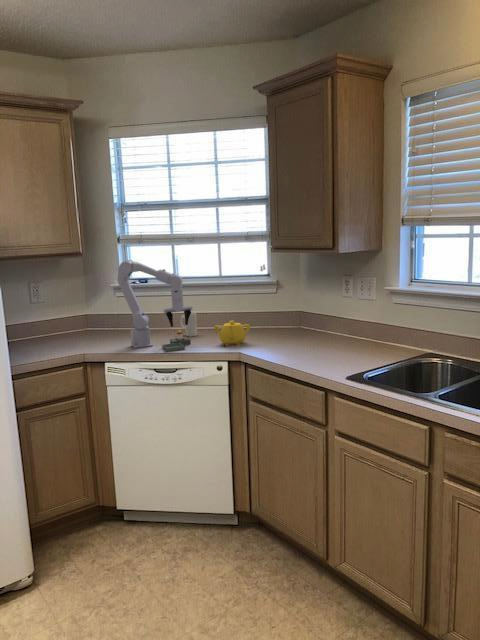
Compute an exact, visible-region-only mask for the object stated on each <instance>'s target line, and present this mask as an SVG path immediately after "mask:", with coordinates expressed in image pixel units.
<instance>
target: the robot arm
mask: <svg viewBox="0 0 480 640" xmlns="http://www.w3.org/2000/svg"><path fill="white" fill-rule="evenodd" d="M136 272H142V273H144V274H147V275H149V276H152V277H155V279H156V281H159V282H160V283H164V284H166V285H169V286H170V289H171V291H170V294H171V295H170V296H171V306H172V307H168V308H164V309H163V313H164V314H165V315H166V317H167V319H168V321H169V325H170V327H171V328H172V327H173V328H174V322H173V320H174V319H173V316H174V314H173V313H178V312H183V316H184V315H185V321H184V326H185V325H188V320H189V316H190V314H191V313H192V311H193V306H191V305H189V306H188V305H187V306H184V293H183V286H182V285H183V278H182V277H181V276H180V275H179V274H175V273H174V272H172V273H171V272H169V271H167V269H165V268H164V269H163V268H162V269H158V270H157V269H155V268H152V267H150V266H148V265H146V264H143V263H140V262H138V261H134V260H132V259H129V260H128V259H127V260H124V261H122V262H121V263H120V264H119V266H118V268H117V278H116V279H117V280H116V281H117V283H118V285H119V287H120V288H119V289H120V290H121V292H122V294H123V296H124V299H125V301H126V302H127V305H128V307H129V309H130V311H131V314H132V319H133V320H132V321H133V326H134V327H135V328H134V329H131V330H130V339H131V340H130V341H131V342H130V343H131V346H132V348H133V349H138V348H145V347H153V346H154V345H153V344H152V343H151V334H150V327H149V323H150V317H149V316H148V315H147V314H146V313H145V311H144V310H143V308H141V305H140V303H139V301H138V299H137V297H136V295H135V293H134V290H133V288H132V286H131V284H130V281H129V279H130V277H131V276H132V274H133V273H136Z"/></svg>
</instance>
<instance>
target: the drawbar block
mask: <svg viewBox="0 0 480 640" xmlns="http://www.w3.org/2000/svg"><path fill="white" fill-rule="evenodd" d="M191 342H192V340H191V338H189V337H188V336H185V337H184V336H183V340H178V341H177V337H176V338H169V344H172V343H181V344H182V345H184V346H189V345H192V344H191Z"/></svg>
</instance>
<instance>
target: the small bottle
mask: <svg viewBox="0 0 480 640" xmlns="http://www.w3.org/2000/svg"><path fill="white" fill-rule="evenodd" d="M183 332H184V331H183V329H182V330H180V329H179V330H176V338H177V341H178V340H183V337H184V335H183V334H184V333H183Z"/></svg>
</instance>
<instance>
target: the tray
mask: <svg viewBox="0 0 480 640" xmlns="http://www.w3.org/2000/svg"><path fill="white" fill-rule="evenodd" d="M185 346H186V345H182V344H181V343H172V344H170V343H165V344H162V345H161V347H162V350H164V351H165V352H166V353H170V352H176V351H184V350H186V349H185V348H186V347H185Z"/></svg>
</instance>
